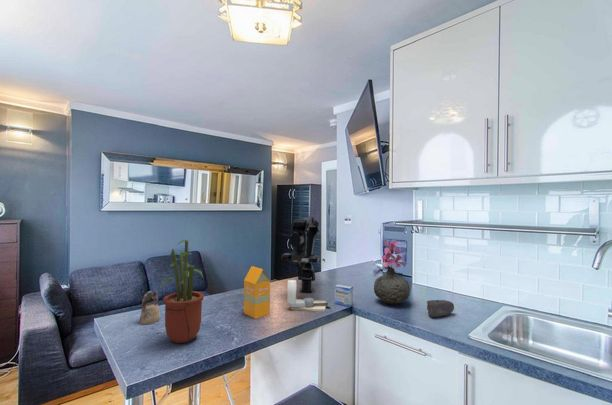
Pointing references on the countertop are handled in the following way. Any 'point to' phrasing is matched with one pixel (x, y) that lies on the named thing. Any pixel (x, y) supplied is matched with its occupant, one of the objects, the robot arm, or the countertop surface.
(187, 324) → the potted plant
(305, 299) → the crank handle
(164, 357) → the countertop surface
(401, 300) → the vase
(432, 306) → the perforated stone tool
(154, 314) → the figurine
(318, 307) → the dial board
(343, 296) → the medicine box
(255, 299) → the orange juice
